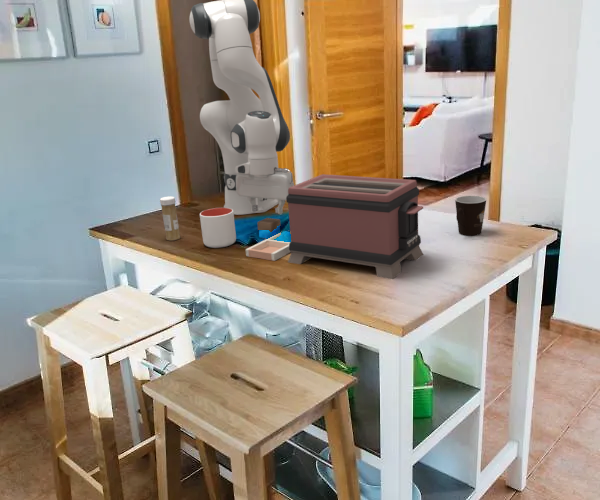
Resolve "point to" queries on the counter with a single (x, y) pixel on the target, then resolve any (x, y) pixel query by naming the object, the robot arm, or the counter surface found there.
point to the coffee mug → (470, 214)
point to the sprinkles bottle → (170, 218)
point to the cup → (218, 227)
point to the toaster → (355, 221)
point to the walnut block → (268, 224)
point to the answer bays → (269, 249)
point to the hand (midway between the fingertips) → (266, 212)
